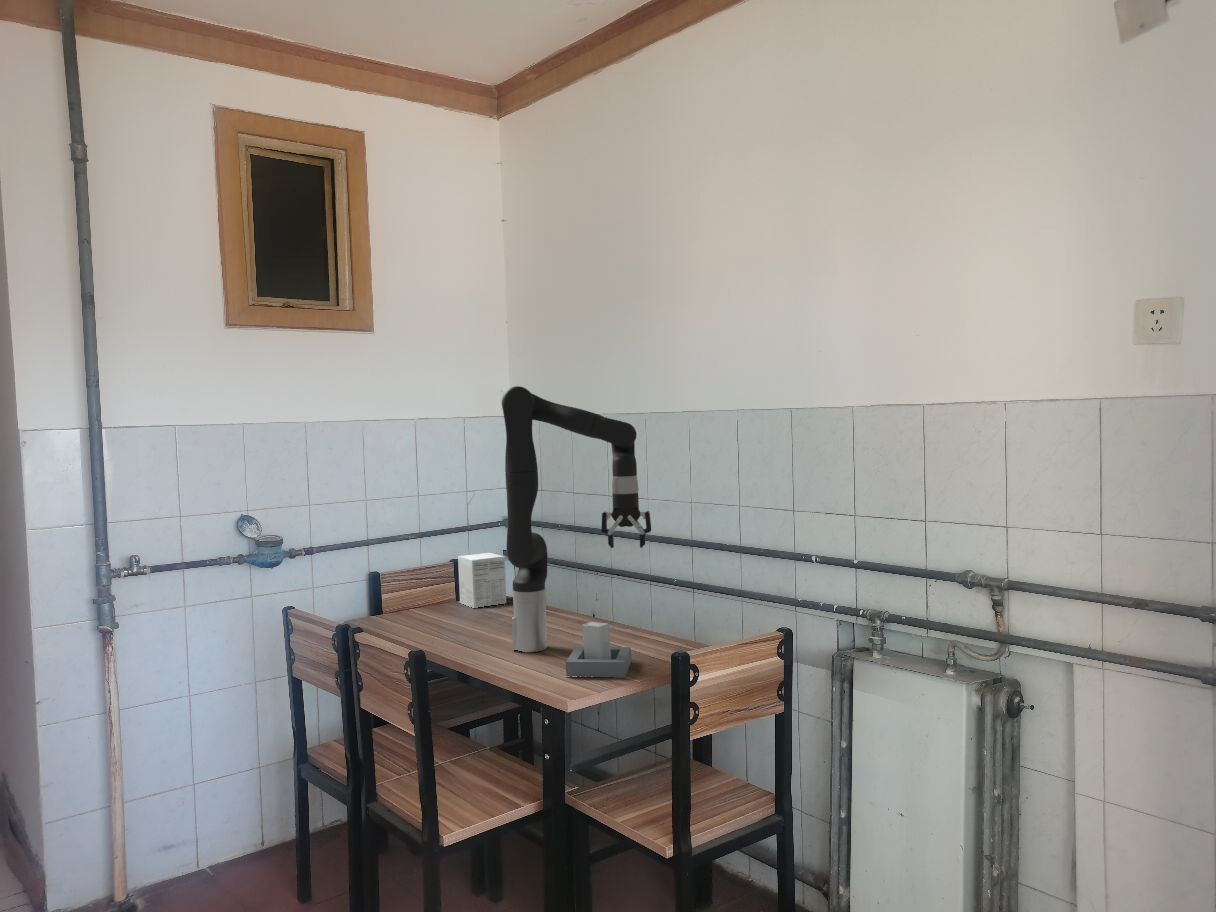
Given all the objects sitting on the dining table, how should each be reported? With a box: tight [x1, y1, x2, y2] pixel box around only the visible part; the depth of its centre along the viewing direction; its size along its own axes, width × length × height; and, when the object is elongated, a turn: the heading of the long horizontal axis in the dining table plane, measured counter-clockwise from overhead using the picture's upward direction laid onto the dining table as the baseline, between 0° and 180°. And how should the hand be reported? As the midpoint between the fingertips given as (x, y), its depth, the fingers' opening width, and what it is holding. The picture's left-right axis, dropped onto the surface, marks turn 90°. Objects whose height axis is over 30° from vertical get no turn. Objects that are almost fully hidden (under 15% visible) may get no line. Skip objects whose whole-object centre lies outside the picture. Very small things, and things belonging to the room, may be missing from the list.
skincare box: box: [582, 621, 612, 659], centre depth 237 cm, size 6×4×12 cm
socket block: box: [565, 646, 632, 679], centre depth 237 cm, size 15×15×4 cm
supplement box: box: [457, 552, 507, 609], centre depth 328 cm, size 13×13×18 cm
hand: (627, 547), depth 262 cm, fingers open, 8 cm apart
